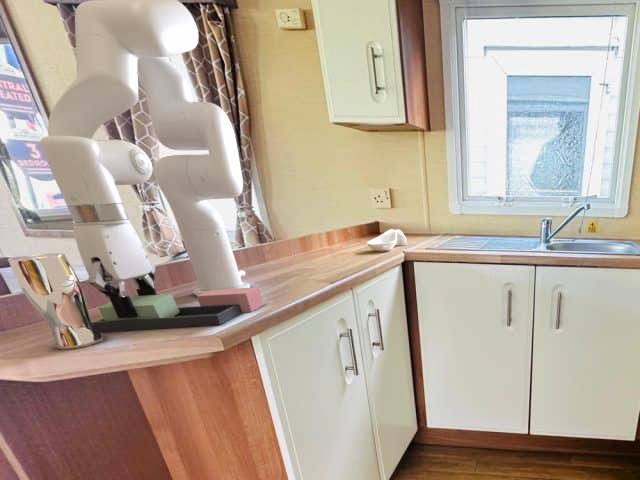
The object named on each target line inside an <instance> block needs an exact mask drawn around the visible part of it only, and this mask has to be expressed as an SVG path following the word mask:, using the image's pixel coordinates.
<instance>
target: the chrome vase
mask: <svg viewBox="0 0 640 480" xmlns="http://www.w3.org/2000/svg"><path fill="white" fill-rule="evenodd" d="M7 261H8V263H9V266H10V267H11V270H12V273H13V275H14V277H15V279H16V281H17V283H18V285H19V288H20V290H21V291H22V293H23V294H24V295H25V297H26V299H27V300H28V301H29V302H30V304H31V305H32V306H33V307H34V309H35V310H36V311H37V313H39V315H40V316H41V317H42V318H43V321H45V322H46V324H47V326H48V327H49V329H50V331H51V333H52V336H53V339H54V340H53V341H54V343H55V347H56V348H57V349H58V350H71V349H73V350H74V349H78V348H84V347H88V346H92V345H95V344H97V343H100V342H102V341H103V340H104V336H103V335H102V334H101V332H98V330H97V329H96V328H95V326H94V325H93V321H92V319H91V316H90V313H89V309H88V305H87V301H86V297H85V293H84V289H83V287H82V283H81V281H80V279H79V277H78V275H77V272H75V270H74V268H73V266H72V264H71V263H70V261H69V260H68V258H67V256H66V253H63V252H55V253H53V252H52V253H41V254H30V255H21V256H16V257H9V258H7Z"/></svg>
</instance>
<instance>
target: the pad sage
mask: <svg viewBox="0 0 640 480" xmlns="http://www.w3.org/2000/svg"><path fill="white" fill-rule="evenodd" d="M128 296H129V297H130V298H131V301H132V303H133V306H134V308H135V310H136V313H137V317H134V318H119V317H118V316H117V314H116V312H115V309H114V307H113V305H112V303H111V301H109V302H106V303H105V304H103V305H101V306H99V307H97V309H98V311H99V312H100V314H101V316H102V319H105V321H115V320H132V319H149V318H166V317H174V316H175V315H177V314H178V313H180V311H179V309H178V304H177V303H176V301H175V299H174V295H173V294H172V293H167V294H166V293H165V294H157V295H145V296H138V295H128Z"/></svg>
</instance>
